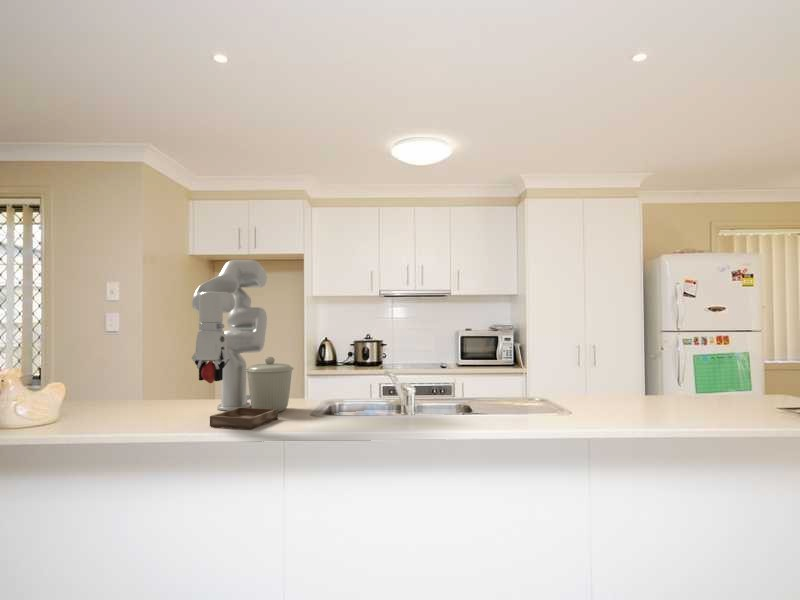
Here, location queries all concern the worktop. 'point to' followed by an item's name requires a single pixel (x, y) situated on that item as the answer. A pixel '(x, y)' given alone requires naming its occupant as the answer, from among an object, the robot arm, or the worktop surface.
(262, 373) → the canister
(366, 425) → the worktop surface
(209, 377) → the onion
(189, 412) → the worktop surface
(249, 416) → the walnut tray
